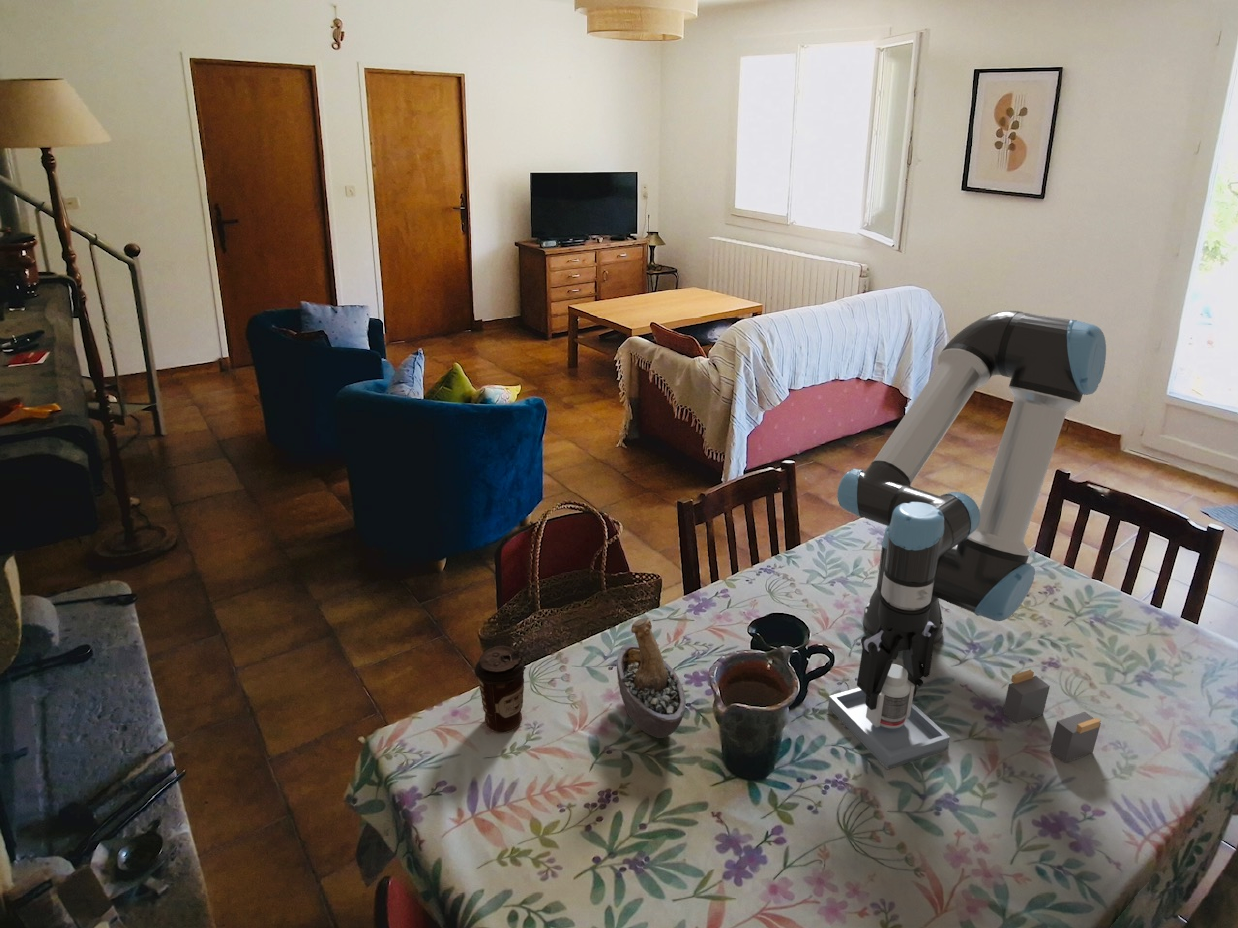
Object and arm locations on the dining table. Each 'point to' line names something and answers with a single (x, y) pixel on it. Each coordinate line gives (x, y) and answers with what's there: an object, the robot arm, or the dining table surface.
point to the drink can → (501, 687)
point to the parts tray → (889, 731)
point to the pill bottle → (895, 697)
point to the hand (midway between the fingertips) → (887, 716)
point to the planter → (649, 684)
